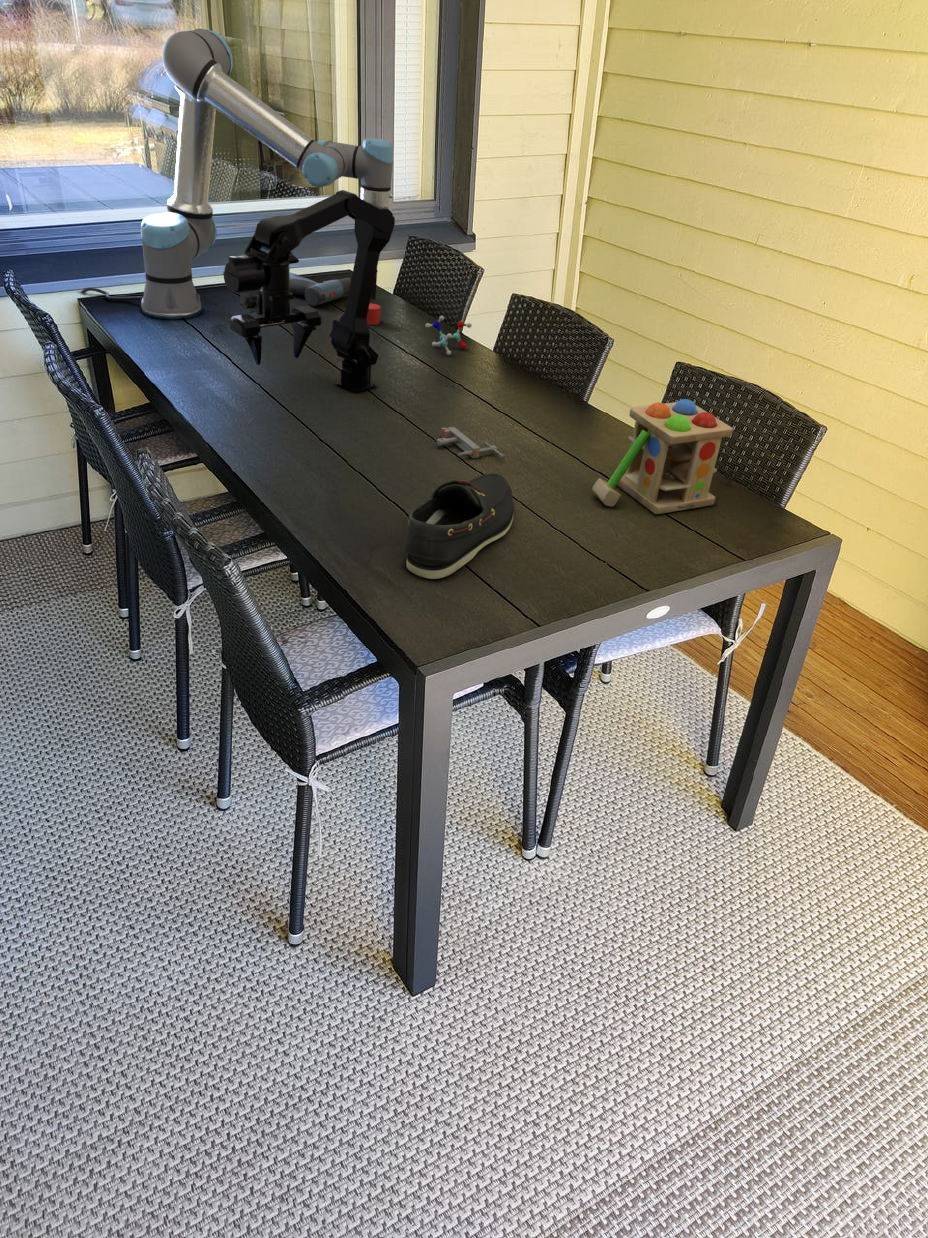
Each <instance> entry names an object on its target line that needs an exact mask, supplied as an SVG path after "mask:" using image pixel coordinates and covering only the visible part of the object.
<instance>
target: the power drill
mask: <svg viewBox="0 0 928 1238" xmlns="http://www.w3.org/2000/svg"><path fill="white" fill-rule="evenodd" d="M289 273H290V293H292V294H293V295H299V296H304V299H305V301H306V303H307V304H308V305H310V306H312V307H313V306H319V305H322V304H326V303H328V302H332V301H334V300H338V299H339V298H341V297H343V296H345V295H348V293H349V288H350V283H351V278H352V277H351V278H350V277H344V278H341V279H339V278H338V279H330V280H324V281H322V282H317V281H314V280H312V279H309V278H307V277H305V276H302V275H300V274H296V273H293V272H290V271H289Z"/></svg>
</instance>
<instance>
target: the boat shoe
mask: <svg viewBox="0 0 928 1238" xmlns="http://www.w3.org/2000/svg"><path fill="white" fill-rule="evenodd" d="M514 513H515V503H514V497H513V491H512V488H511V486H510V484H509V482H508V480H507V479H506V478H505V477H504V476H503V475H501V474H500V473H495V472H494V473H490V472H489V473H485V474H481V475H479V476H477V477H474V478H472V479H470V480H468V481H467V480H463V479H451V480H448V481H446V482H444V483H442V484H440V485H439V486H437V487H436V488H435V489H434V491H433V492H432V494H431V495H430V497H429V499H427V500H425V501H423V502H422V503H421V504H419V505H417V506H416V507H414V508H413V509H412V510H411V511H410V512H409V515H407V518H406V523H407V524H408V533H407V537H406V544H405V546H404V548H403V549H404V553H406V554H407V555H406V561H405V562H406V564H405V565H406V569H407V570H408V571H409V572H410V573H412V574H414V575H416V576H417V577H421V578H424V579H430V580H436V579H442V578H445V577H448V576H450V575H452V574H453V573H455V572H456V571H458V570H459V569H460V568H462V567H464V566H465V565H467V563H469V562H470V561H472V559H474V557H475V556H476V555H477V554H478V553H479V551H480V550H482V549H483V548H485V546H487V545H489V544H491V543H492V542H493V543H494V541H497V540H499V539H500V538H502V537H504V536H505V535H506V534H507V533H508V532H509V530H510V529H511V527H512V525H513V521H514V515H515V514H514Z"/></svg>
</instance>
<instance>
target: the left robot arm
mask: <svg viewBox="0 0 928 1238" xmlns="http://www.w3.org/2000/svg"><path fill="white" fill-rule="evenodd" d="M161 62H162V66H163V69H164V71H165V73H166V75H167V76H168V78H169V79H170V81H172V83H173V84H174V88H175V90H176V91H177V92H178V94H179V96H180V103H179V105H180V106H179V115H178V116H179V117H178V130H177V131H178V132H177V144H176V145H177V146H176V147H177V148H176V160H175V161H176V162H175V175H174V191H173V193H174V194H173V195H172V196H171V197H170V198H168V199H167V204H166V211H164V212H158V213H152V214H149V215H147V216H145V217H144V218H143V219H142V221H141V224H140V238H141V244H142V254H143V265H144V274H145V275H144V276H145V283H144V289H143V295H142V296H141V295H140V296H110V293H109V292H108V291H106V290H104V289H101V288H97V287H91V286H90V287H85V288H83V289H82V290H81V291H80V294H85V293H87V292H96V293H99V294H102V295H105V298H106V300H108V301H109V300H110V301H140V307H141V312H142V313H143V314H144V315H146V316H148V317H150V318H155V319H161V320H184V319H190V318H193V317H197V316H198V315H200V314H201V313H202V311H203V310H202V303H201V295H200V294H199V293H197V290H196V287H195V284H194V282H193V273H192V272H193V271H192V269H193V268H192V261H194V260H195V259H197V258H199V257H201V256H204V255H205V254H206V253H208V251H210V249H211V248H212V247H213V246H214V245H215V242H216V240H217V236H218V235H217V233H218V231H217V224H216V221H215V220H214V218H213V214H214V208H213V207H212V206H211V204H210V202H209V194H210V193H209V192H210V180H211V168H212V158H213V149H214V148H213V147H214V136H215V135H214V134H215V124H216V114H217V111H218V112H219V113H221V114H222V115H224V116H225V117H227V118H228V119H229V120H231V121H232V122H233V123H234V124H236V125H237V126H238V127H240V128H241V129H242V130H244V131H245V132H247V133H249V134H250V135H251V136H252V137H254V138H255V139H257V140H258V141H259V142H261V143H262V144H263V145H265V146H266V147H267V148H269V149H270V150H271V151H273V152H274V153H276V154H277V155H278V156H279V157H281V158H283V160H285V161H287V162H288V163H289V164H290V165H292V166H294V167H295V168H296V169H298V171H300V172H301V173H302V175H303V177H304V179H305V181H306V182H307V183H308V184H309V185H311V186H312V187H315V188H324V187H327V186H331V185H332V184H334V183H335V181H336V180H339V179H340V178H342V177H343V178H350V179H356V180H360V192H359V193H360V194H359V198H361V199H362V200H364V201H366V202H368V203H372V204H375V205H377V206H380V207H383V208H386V209H388V210H390V208H389V207H390V205H391V199H392V198H393V197H394V195H393V194H392V193H391V189H392V176H393V175H392V174H393V166H394V165H393V164H394V160H393V159H394V157H393V156H394V155H393V154H394V153H393V151H394V146H393V144H392V142H391V141H390V140H387V139H385V138H378V137H377V138H374V137H367V138H364V139H363V141H362V144H361V145H356V144H355V145H354V144H349V143H344V142H343V143H342V142H337V141H333V140H318V141H316V140H315V139H313V138H312V136H309V135H308V134H306V132H304V131H302V130H301V129H300V128H299V127H297V126H296V125H295V124H293V123H292V122H291V121H289V120H288V119H287V118H285V117H284V116H283V115H282V114H280V113H279V112H277V111H276V110H274V109H273V108H272V107H270V105H268V104H266V103H265V102H264V101H263V100H261V99H259V98H258V97H257V96H255V94H253V93H252V92H250V91H249V90H248V89H246V88H245V87H244V86H242V85H241V84H240V83H238V82H237V81H235V80H234V79H233V78H231V77H230V75H231V73H232V70H233V66H234V58H233V54H232V50H231V48H230V46H229V44H228V43H227V42H226V39H224V37H222V36H221V35H220V34H219V33H218V32H215V31H213V30H211V29H204V28H195V29H192V30H182V31H178V32H175V33H173V34H172V35H170V36H169V37H168V38H167V40H166V41H165V42H164V45H163V46H162V51H161ZM378 272H379V270H378V269H377V270H376V275H375V280H374V285H373V289H372V294H371V299H370V300H376V299H377V298H376V297H377V281H378Z"/></svg>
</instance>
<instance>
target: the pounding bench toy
mask: <svg viewBox="0 0 928 1238" xmlns="http://www.w3.org/2000/svg"><path fill="white" fill-rule="evenodd" d="M628 415H629V417H630V418H631V419H632V420H634V422H635V423H634V427H633V431H632V436H631V435H630V436H628V438H627V439H628V440H629V441H631V442H630V446H629V449H628V451H627V452H626V453H625V455H624V457H623V458H622V460H621V461H620V462H619V464H618V466H617V467H616V469H615V470H614V471H613V473H612V475H611V476H610V478H609V480H605V479H603V478H600V477H598V479H597V480H596V481H595V483H594V484H593V486H592V488H591V490H592V493H594V494H595V496H597V498H598V499H599V500H600V501H601V502H602V504H603V505H605V506H607V507H615V506H616V504H617V502H618V501H619V500H620V499H621V493H620V492H619V491H618V490H617V489H616V488H617V487H619V488H620V489H622V490H623V491H624V492H625V493H627V494H628V495H630V496H631V498H633V499H635V501H637V502H639V504H641V505H642V506H644V507H645V508H646V509H648V510H649V511H650V512H652V513H653V514H654V515H660V514H667V513H673V512H678V511H686V510H690V509H697V508H703V507H708V506H713V505H715V502H716V496H715V495H713V494H712V493H711V492H710V488H711V485H712V479H713V476H714V473H718V469H717V468H716V464H717V460H718V456H719V455H718V454H719V452H720V451H719V450H720V447H721V442H722V439H723V438H728V437H732V435H733V433H734V432H733V431H734V428H733V427H731V426H730V425H729V424H727V423H725V422H723V421H722V420H721V419H719V418H717V417H716V416H715V415H714V414H712V413H711V412H708V411H706V410H705V409H703V408H701V407H700V406H698V405H696V404H695V402H694V401H692V400H691V399H688V398H683V399H680V400H677V401H675V402H666V403H663V402H660V401H659V402H658V401H657V402H654V403H651V404H650V405H641V406H632V407H630V409H629V414H628Z"/></svg>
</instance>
